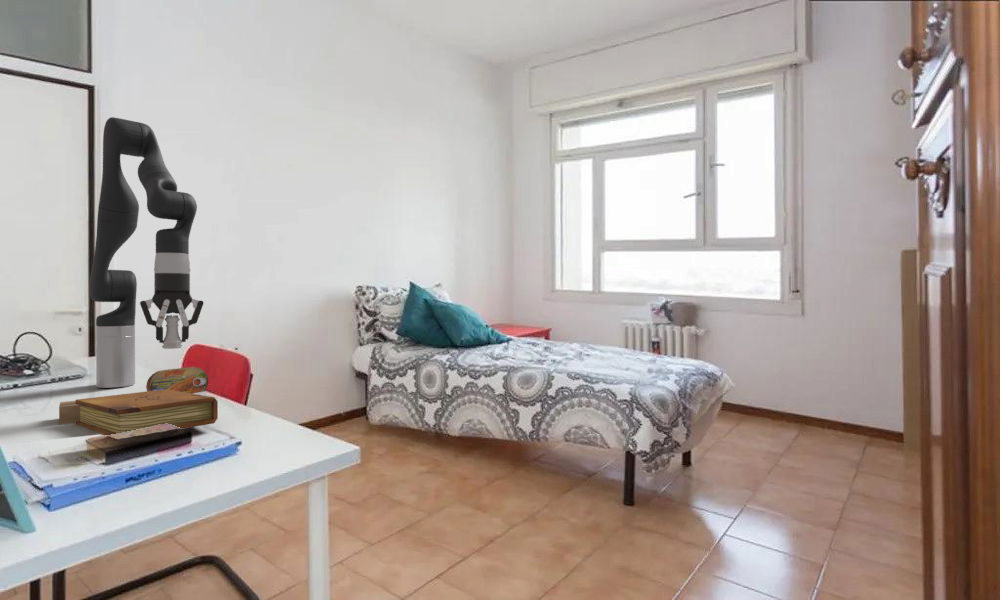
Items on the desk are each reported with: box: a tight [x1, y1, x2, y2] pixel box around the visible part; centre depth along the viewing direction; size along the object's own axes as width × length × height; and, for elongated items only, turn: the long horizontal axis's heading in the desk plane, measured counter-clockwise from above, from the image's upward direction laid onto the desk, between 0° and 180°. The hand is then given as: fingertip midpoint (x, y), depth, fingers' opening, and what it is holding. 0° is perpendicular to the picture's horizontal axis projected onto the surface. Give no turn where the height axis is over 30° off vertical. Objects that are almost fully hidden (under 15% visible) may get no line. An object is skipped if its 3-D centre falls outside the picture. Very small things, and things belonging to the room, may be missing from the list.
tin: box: [145, 366, 209, 394], centre depth 151 cm, size 15×3×8 cm, turn 144°
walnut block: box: [58, 400, 80, 425], centre depth 125 cm, size 8×8×4 cm
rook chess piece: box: [161, 314, 183, 350], centre depth 139 cm, size 4×4×8 cm
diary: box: [74, 389, 219, 436], centre depth 120 cm, size 23×19×6 cm
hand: (172, 341), depth 139 cm, fingers closed on rook chess piece, 4 cm apart
